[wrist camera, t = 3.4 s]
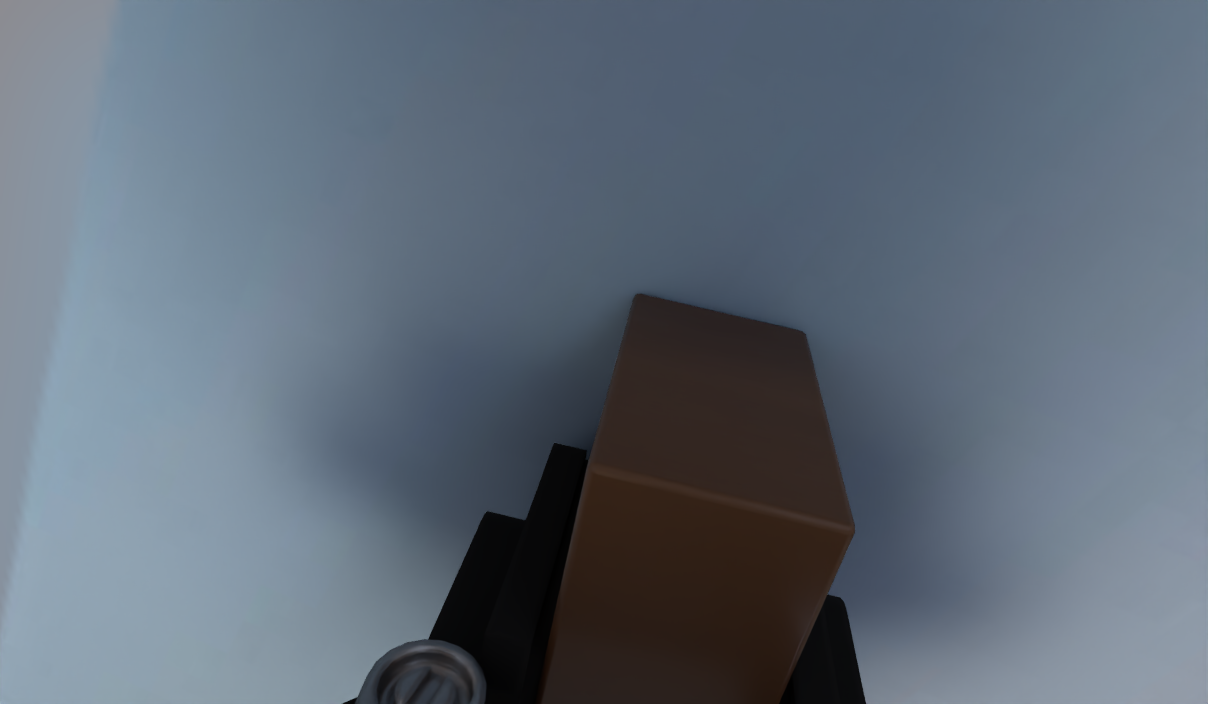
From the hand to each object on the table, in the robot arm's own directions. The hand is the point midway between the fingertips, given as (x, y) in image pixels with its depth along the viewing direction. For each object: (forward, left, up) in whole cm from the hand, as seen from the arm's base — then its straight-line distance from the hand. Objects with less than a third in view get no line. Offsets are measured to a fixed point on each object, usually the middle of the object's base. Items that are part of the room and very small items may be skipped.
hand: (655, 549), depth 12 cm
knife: (+4, 0, -1) cm, 4 cm away
